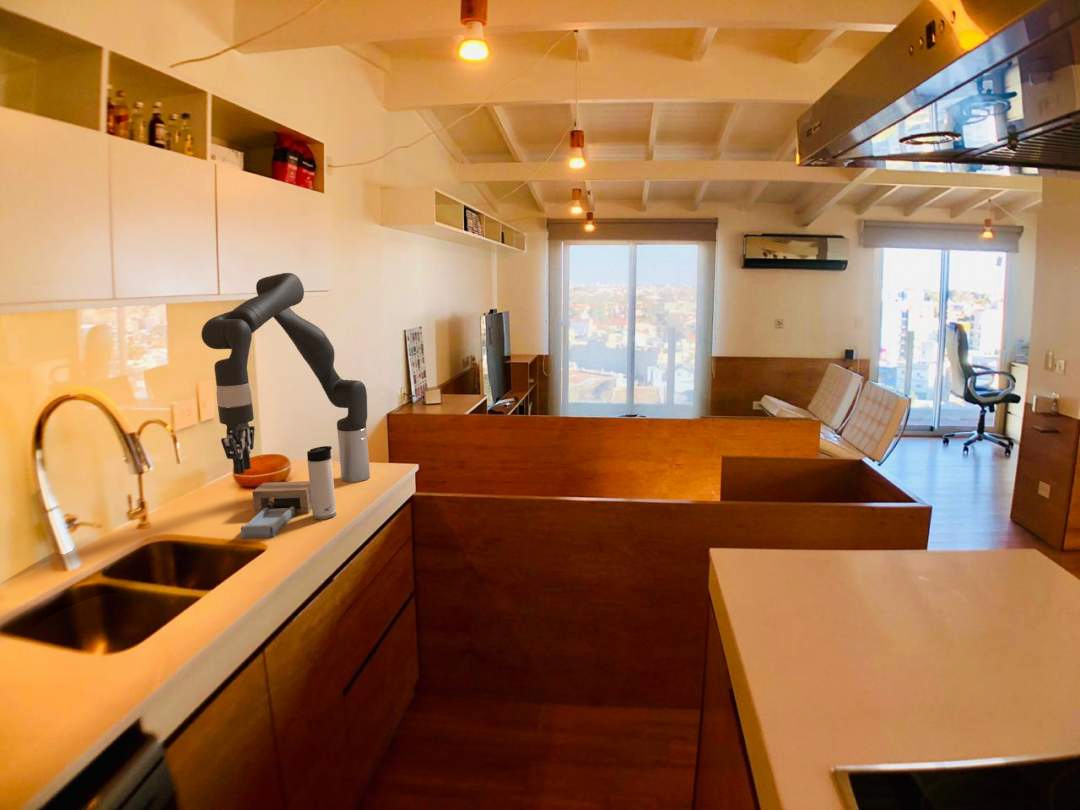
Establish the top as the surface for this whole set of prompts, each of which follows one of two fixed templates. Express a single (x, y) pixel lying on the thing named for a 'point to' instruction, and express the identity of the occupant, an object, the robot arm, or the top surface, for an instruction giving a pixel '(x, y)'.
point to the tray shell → (267, 523)
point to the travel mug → (321, 482)
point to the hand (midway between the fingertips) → (242, 471)
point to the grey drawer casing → (283, 496)
